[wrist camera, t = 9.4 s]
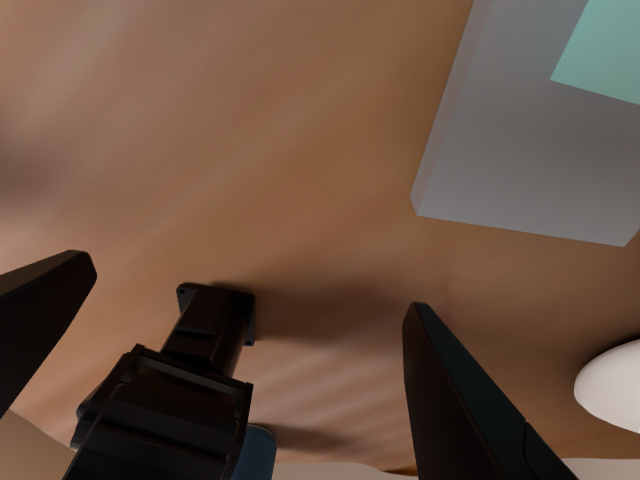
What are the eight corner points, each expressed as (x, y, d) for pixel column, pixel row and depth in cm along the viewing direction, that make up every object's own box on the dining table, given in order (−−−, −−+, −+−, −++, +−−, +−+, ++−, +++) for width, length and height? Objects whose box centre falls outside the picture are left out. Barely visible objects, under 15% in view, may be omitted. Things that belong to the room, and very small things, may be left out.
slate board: (595, 224, 20) (623, 247, 18) (409, 195, 20) (416, 215, 18) (972, -273, 9) (1144, -355, 7) (584, -337, 9) (649, -437, 7)
